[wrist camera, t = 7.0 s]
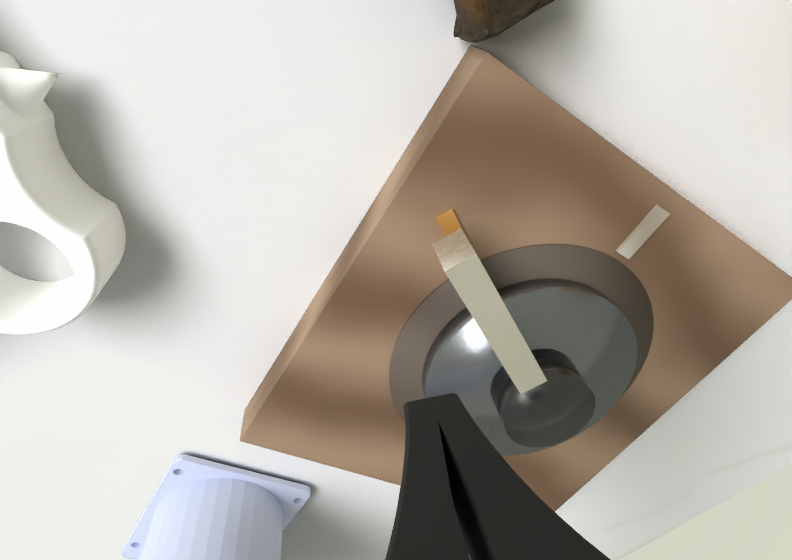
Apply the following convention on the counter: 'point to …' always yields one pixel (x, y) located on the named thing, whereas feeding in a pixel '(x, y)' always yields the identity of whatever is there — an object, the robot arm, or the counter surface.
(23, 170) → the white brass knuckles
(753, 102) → the counter surface
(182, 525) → the robot arm
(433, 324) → the dial board
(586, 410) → the dial
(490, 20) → the brown rough bar
